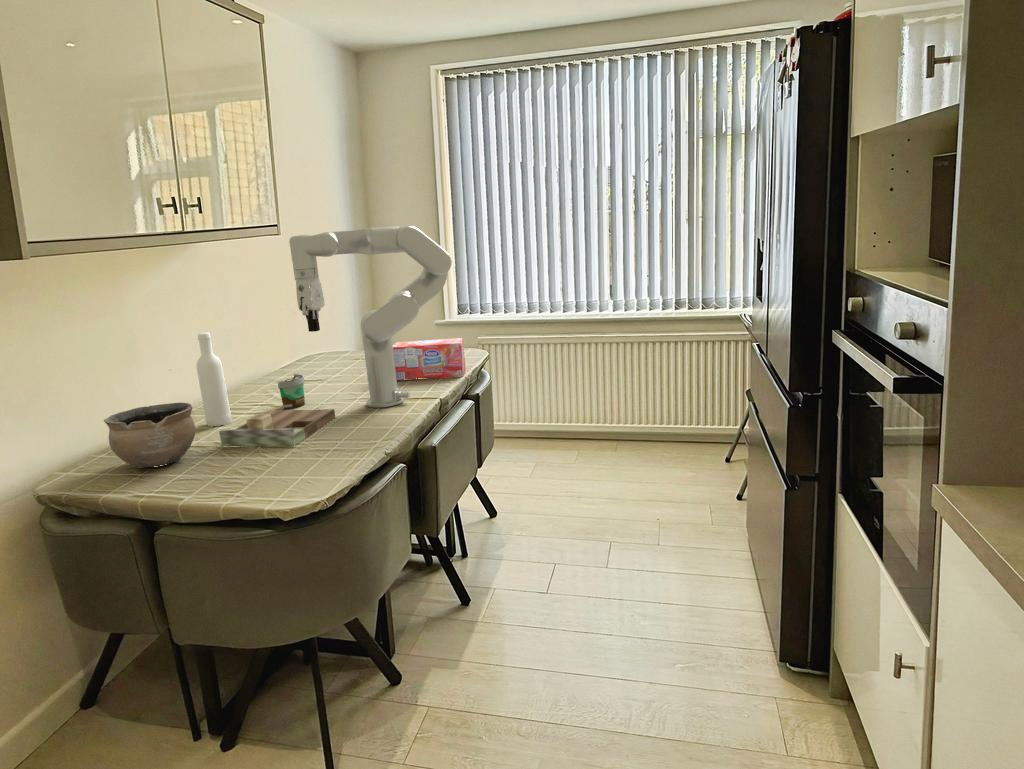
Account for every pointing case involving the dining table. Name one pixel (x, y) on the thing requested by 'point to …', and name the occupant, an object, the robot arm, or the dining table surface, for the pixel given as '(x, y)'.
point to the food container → (292, 392)
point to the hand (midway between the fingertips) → (314, 330)
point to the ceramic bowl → (152, 434)
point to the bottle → (212, 384)
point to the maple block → (260, 421)
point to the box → (429, 359)
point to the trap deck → (279, 429)
